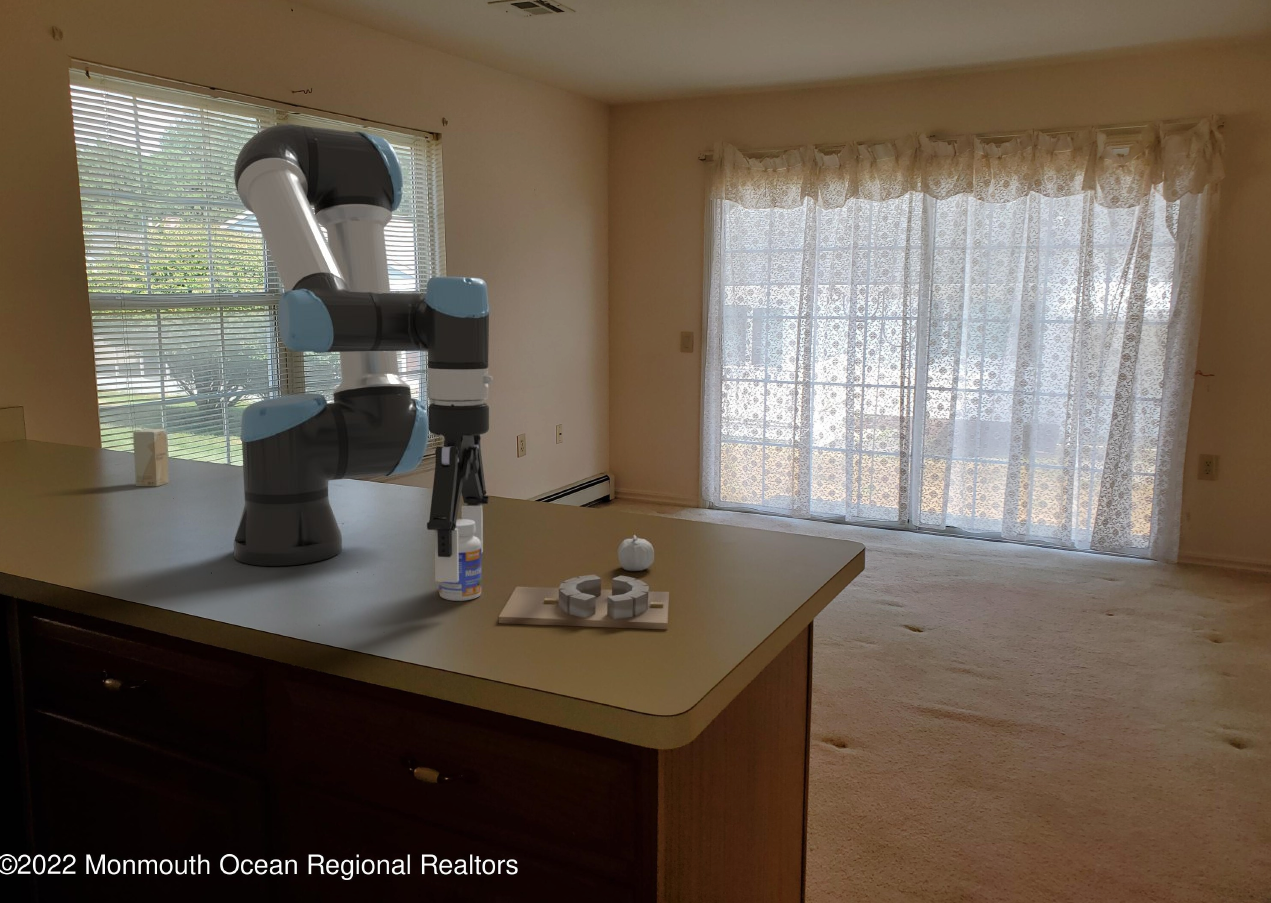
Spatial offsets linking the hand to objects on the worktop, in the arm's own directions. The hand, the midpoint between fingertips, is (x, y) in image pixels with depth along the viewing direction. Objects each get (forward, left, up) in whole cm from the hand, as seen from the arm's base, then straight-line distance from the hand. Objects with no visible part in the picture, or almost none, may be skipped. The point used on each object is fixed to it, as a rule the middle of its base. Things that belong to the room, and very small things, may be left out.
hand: (460, 566), depth 119 cm
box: (-78, +64, -4) cm, 101 cm away
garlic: (+22, +15, -4) cm, 27 cm away
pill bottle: (0, 0, -4) cm, 4 cm away
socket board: (+17, -4, -4) cm, 18 cm away
